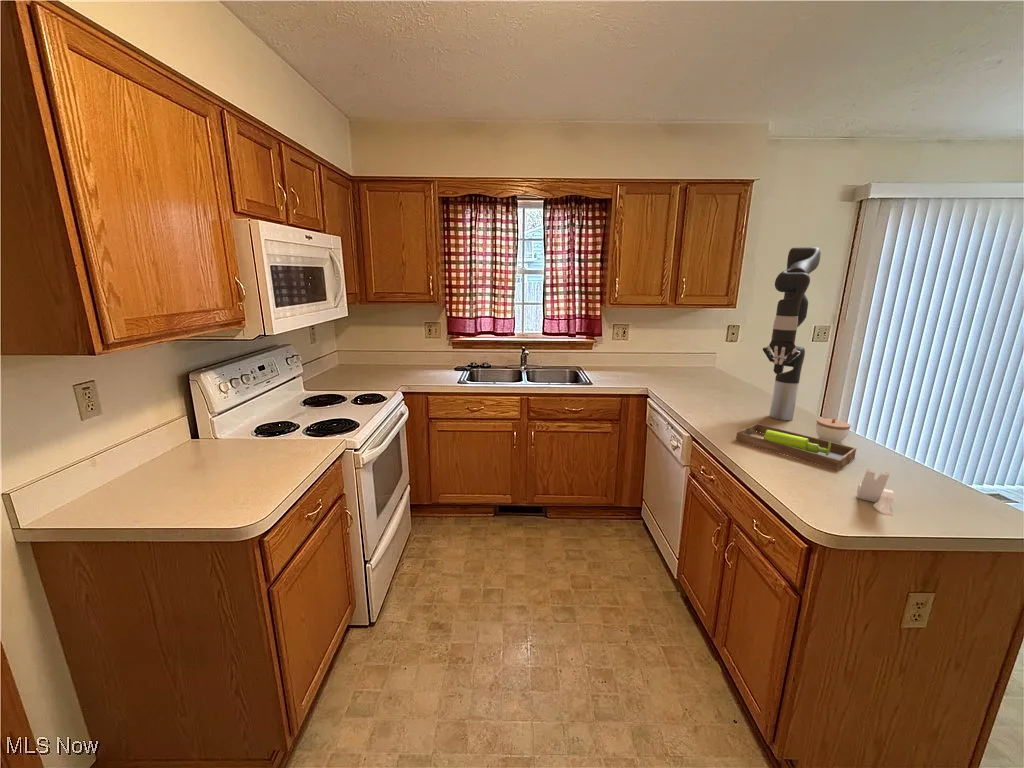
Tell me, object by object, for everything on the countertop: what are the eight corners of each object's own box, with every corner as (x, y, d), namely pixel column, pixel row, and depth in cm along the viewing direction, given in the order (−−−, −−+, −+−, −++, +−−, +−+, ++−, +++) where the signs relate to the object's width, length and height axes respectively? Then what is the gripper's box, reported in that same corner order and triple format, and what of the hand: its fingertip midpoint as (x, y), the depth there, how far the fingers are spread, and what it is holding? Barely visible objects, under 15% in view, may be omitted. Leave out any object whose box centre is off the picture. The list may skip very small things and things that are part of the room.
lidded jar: (839, 438, 177) (844, 415, 175) (851, 447, 167) (856, 424, 165) (809, 435, 180) (813, 413, 178) (819, 444, 170) (823, 421, 168)
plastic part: (888, 502, 126) (898, 464, 124) (893, 516, 119) (903, 476, 116) (856, 494, 131) (864, 458, 128) (858, 508, 123) (867, 469, 120)
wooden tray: (755, 431, 183) (756, 423, 183) (854, 457, 158) (856, 448, 157) (735, 440, 172) (736, 432, 172) (838, 470, 147) (840, 460, 146)
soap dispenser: (770, 428, 169) (832, 441, 156) (765, 445, 169) (828, 460, 155) (766, 425, 165) (831, 439, 151) (762, 443, 164) (826, 459, 151)
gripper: (808, 329, 160) (801, 375, 164) (770, 325, 170) (763, 369, 174) (801, 330, 155) (793, 378, 160) (761, 327, 165) (755, 372, 169)
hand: (777, 373), depth 167 cm, fingers closed
